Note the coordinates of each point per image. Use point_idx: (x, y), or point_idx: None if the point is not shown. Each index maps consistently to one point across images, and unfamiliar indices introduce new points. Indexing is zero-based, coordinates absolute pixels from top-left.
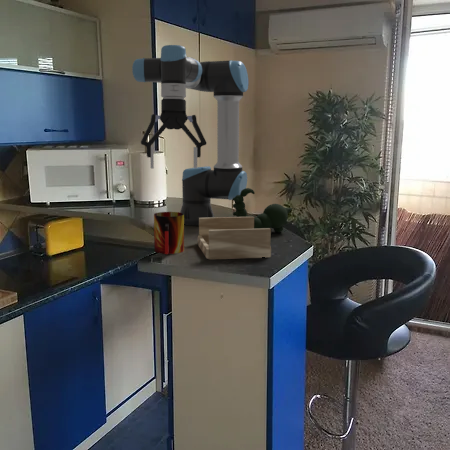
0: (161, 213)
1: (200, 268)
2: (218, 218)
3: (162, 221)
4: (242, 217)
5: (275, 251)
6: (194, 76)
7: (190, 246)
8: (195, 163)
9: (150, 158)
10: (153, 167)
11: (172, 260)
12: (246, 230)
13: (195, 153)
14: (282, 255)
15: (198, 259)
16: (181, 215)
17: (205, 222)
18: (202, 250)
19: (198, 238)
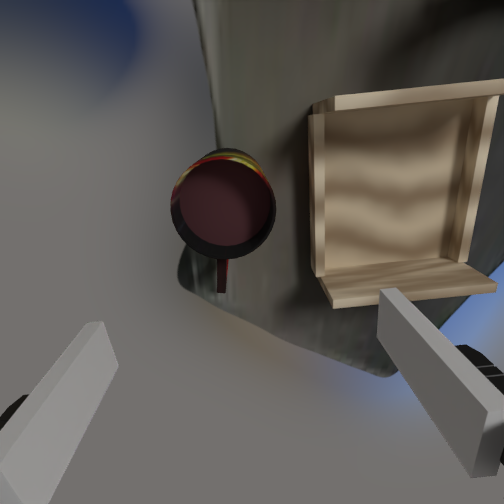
0: (193, 167)
1: (290, 330)
2: (406, 103)
3: (206, 248)
4: (499, 93)
5: (483, 209)
6: None
7: (285, 143)
8: (395, 358)
9: (51, 372)
10: (115, 370)
11: (238, 277)
12: (428, 298)
13: (437, 421)
14: (480, 246)
15: (293, 272)
16: (266, 237)
17: (352, 109)
18: (310, 208)
19: (312, 133)
